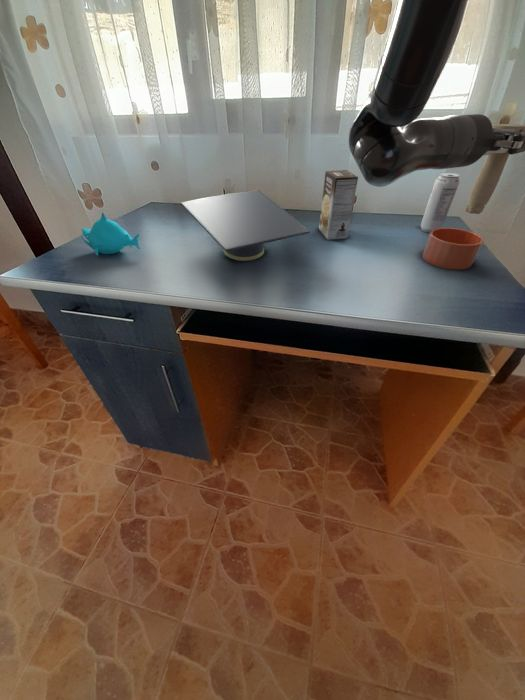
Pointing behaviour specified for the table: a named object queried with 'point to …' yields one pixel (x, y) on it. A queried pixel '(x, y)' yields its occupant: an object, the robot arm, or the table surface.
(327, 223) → the coffee box
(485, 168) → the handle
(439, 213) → the energy drink can
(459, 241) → the holder
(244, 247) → the graduation cap
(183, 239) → the table surface
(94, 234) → the toy shark
